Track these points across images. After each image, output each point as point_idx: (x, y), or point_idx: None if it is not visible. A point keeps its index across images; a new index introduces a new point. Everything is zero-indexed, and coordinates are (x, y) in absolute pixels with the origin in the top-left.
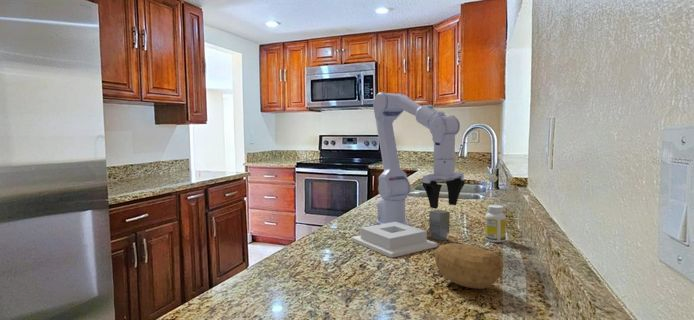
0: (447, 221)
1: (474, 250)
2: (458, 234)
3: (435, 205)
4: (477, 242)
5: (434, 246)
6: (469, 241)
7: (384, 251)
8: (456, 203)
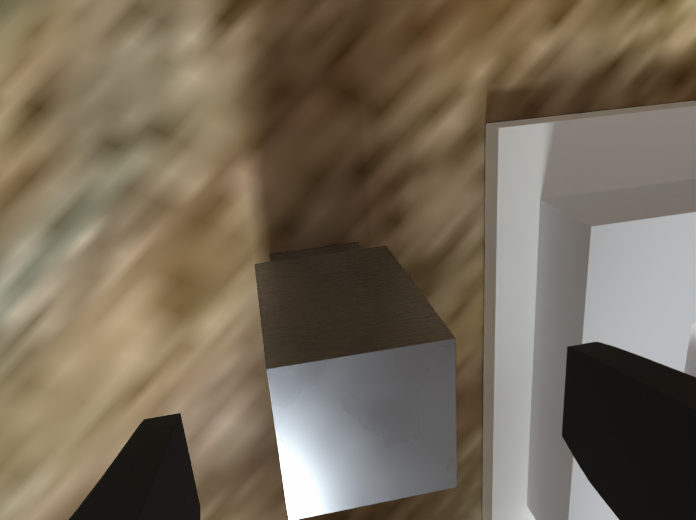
0: (293, 307)
1: None
2: (66, 324)
3: (636, 361)
4: (71, 38)
5: (519, 122)
6: (125, 105)
7: None
8: (137, 429)
